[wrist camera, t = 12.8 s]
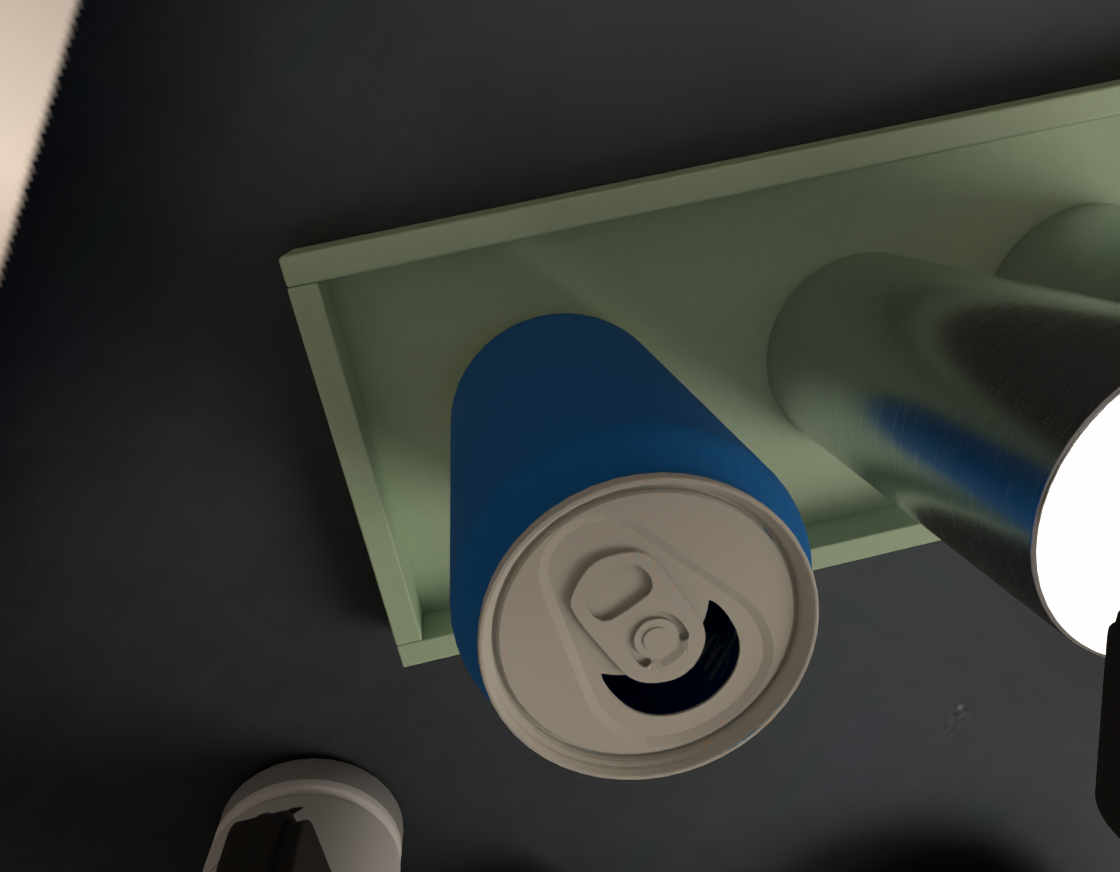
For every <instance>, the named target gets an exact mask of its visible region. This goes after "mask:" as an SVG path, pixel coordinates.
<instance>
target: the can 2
mask: <svg viewBox="0 0 1120 872" xmlns="http://www.w3.org/2000/svg"><path fill="white" fill-rule="evenodd" d="M995 276H998V277H1003V278H1008V279H1012V280H1017V281H1021V282H1026V283H1031V284H1035V285H1040V286H1045V287H1049V288H1054V289H1059V290H1063V291H1068V292H1073V293H1077V294H1082V295H1086V296H1091V297H1096V298H1100V299H1105V300H1110V301H1114V302H1119V303H1120V205H1106V204H1089V205H1082V206H1077V207H1073V208H1070V209H1066V210H1064V211H1062V212H1059V213H1057V214H1055V215H1053V216H1051V217H1049V218H1047V219H1046V220H1044V221H1042V222H1041V223H1039V224H1038V225H1037V226H1035V227H1034V228H1033V229H1031V230H1030V231H1029V232H1028V233H1027V234H1026V235H1025V236H1023V237H1022V238H1021V239H1020V240H1019V241H1018V243H1017V244H1016V245H1015V246H1014V247H1013V248H1012V249H1011V251H1010V252H1009V253H1008V255H1007V256H1006V258H1005V259H1004V261H1003V262H1002V264H1001V266H1000V267H999V269H998V271H997V273H996V275H995Z"/></svg>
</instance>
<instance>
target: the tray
mask: <svg viewBox="0 0 1120 872" xmlns="http://www.w3.org/2000/svg"><path fill="white" fill-rule="evenodd" d="M1089 204H1106V205H1120V79H1118V80H1113V81H1109V82H1104V83H1099V84H1094V85H1089V86H1084V87H1079V88H1075V89H1070V90H1065V91H1060V92H1055V93H1050V94H1045V95H1040V96H1036V97H1031V98H1026V99H1021V100H1016V101H1011V102H1006V103H1002V104H997V105H992V106H987V107H982V108H977V109H972V110H968V111H963V112H958V113H953V114H948V115H943V116H938V117H934V118H929V119H924V120H919V121H914V122H909V123H904V124H900V125H895V126H890V127H885V128H880V129H875V130H870V131H865V132H861V133H856V134H851V135H846V136H841V137H836V138H831V139H827V140H822V141H817V142H812V143H807V144H802V145H797V146H793V147H788V148H783V149H778V150H773V151H768V152H763V153H759V154H754V155H749V156H744V157H739V158H734V159H729V160H724V161H720V162H715V163H710V164H705V165H700V166H695V167H690V168H686V169H681V170H676V171H671V172H666V173H661V174H656V175H652V176H647V177H642V178H637V179H632V180H627V181H622V182H618V183H613V184H608V185H603V186H598V187H593V188H588V189H584V190H579V191H574V192H569V193H564V194H559V195H554V196H549V197H545V198H540V199H535V200H530V201H525V202H520V203H515V204H511V205H506V206H501V207H496V208H491V209H486V210H481V211H477V212H472V213H467V214H462V215H457V216H452V217H447V218H443V219H438V220H433V221H428V222H423V223H418V224H413V225H408V226H404V227H399V228H394V229H389V230H384V231H379V232H374V233H370V234H365V235H360V236H355V237H350V238H345V239H340V240H336V241H331V242H326V243H321V244H316V245H311V246H306V247H302V248H297V249H293V250H291V251H290V252H288V253H287V254H285V255H283V256H282V257H280V258H279V263H280V267H281V270H282V273H283V276H284V280H285V283H286V285H287V286H288V287H290V288H289V289H288V294H289V297H290V300H291V304H292V307H293V310H294V313H295V317H296V320H297V323H298V326H299V330H300V333H301V336H302V339H303V343H304V346H305V349H306V352H307V356H308V359H309V362H310V365H311V369H312V372H313V375H314V378H315V382H316V385H317V388H318V392H319V395H320V398H321V401H322V405H323V408H324V411H325V414H326V418H327V421H328V424H329V427H330V431H331V434H332V437H333V440H334V444H335V447H336V450H337V453H338V457H339V460H340V463H341V466H342V470H343V473H344V476H345V479H346V483H347V486H348V489H349V492H350V496H351V499H352V502H353V506H354V509H355V512H356V515H357V519H358V522H359V525H360V528H361V532H362V535H363V538H364V541H365V545H366V548H367V551H368V554H369V558H370V561H371V564H372V567H373V571H374V574H375V577H376V580H377V584H378V587H379V590H380V593H381V597H382V600H383V603H384V606H385V610H386V613H387V616H388V620H389V623H390V626H391V629H392V633H393V636H394V639H395V642H396V645H397V649H398V652H399V655H400V659H401V662H402V665H403V667H407V666H411V665H415V664H420V663H424V662H428V661H432V660H437V659H441V658H445V657H449V656H453V655H458V654H460V652H459V650H458V648H457V645H456V641H455V637H454V633H453V629H452V625H451V613H450V424H451V410H452V405H453V400H454V395H455V392H456V390H457V387H458V384H459V381H460V379H461V378H462V376H463V374H464V372H465V370H466V368H467V367H468V365H469V364H470V362H471V361H472V359H473V358H474V357H475V356H476V355H477V353H478V352H479V351H480V350H481V349H482V348H483V347H484V346H485V345H486V344H487V343H488V342H490V341H491V340H492V339H493V338H494V337H495V336H497V335H498V334H500V333H502V332H503V331H505V330H506V329H508V328H510V327H512V326H514V325H516V324H518V323H520V322H522V321H525V320H528V319H531V318H534V317H538V316H544V315H549V314H560V313H571V314H583V315H587V316H592V317H597V318H599V319H602V320H605V321H608V322H610V323H612V324H614V325H616V326H618V327H620V328H622V329H624V330H625V331H626V332H628V333H629V334H631V335H632V336H633V337H635V338H636V339H637V340H638V341H639V342H640V343H641V344H642V345H643V346H644V347H645V348H646V349H647V350H648V351H649V352H650V353H651V354H652V355H654V356H655V357H656V358H657V359H658V360H659V361H660V362H661V363H662V364H663V365H664V366H665V367H666V368H667V369H668V370H669V371H670V372H671V373H672V374H673V375H674V376H675V377H676V378H677V379H678V380H679V381H680V382H681V383H682V384H683V385H684V386H685V387H686V388H687V389H688V390H689V391H690V392H691V393H692V394H693V395H694V396H695V397H696V398H697V399H698V400H700V401H701V402H702V403H703V404H704V405H705V406H706V407H707V408H708V409H709V410H710V411H711V412H712V413H713V414H714V415H715V416H716V417H717V418H718V419H719V420H720V421H721V422H722V423H723V424H724V425H725V426H726V427H727V428H728V429H729V430H730V431H731V432H732V433H733V434H734V435H735V436H736V437H737V438H738V439H739V440H740V441H741V442H742V443H743V444H745V445H746V446H747V447H748V448H749V449H750V450H751V451H752V452H753V453H754V454H755V455H756V456H757V457H758V458H759V459H760V460H761V461H762V462H763V463H764V464H765V465H766V466H767V467H768V468H769V469H770V470H771V471H772V472H773V473H774V474H775V475H776V476H777V478H778V479H779V480H780V481H781V483H782V484H783V485H784V487H785V488H786V489H787V490H788V492H789V494H790V496H791V497H792V499H793V501H794V503H795V504H796V506H797V508H798V510H799V513H800V515H801V518H802V521H803V523H804V526H805V529H806V532H807V536H808V540H809V545H810V550H811V559H812V570H816V569H821V568H825V567H829V566H833V565H837V564H842V563H846V562H850V561H854V560H859V559H863V558H867V557H871V556H875V555H880V554H884V553H888V552H892V551H897V550H901V549H905V548H909V547H913V546H918V545H922V544H926V543H930V542H935V541H939V540H941V539H939V538H938V537H937V536H936V535H934V534H933V533H932V532H930V531H929V530H928V529H927V528H925V527H924V526H923V525H921V524H920V523H919V522H918V521H916V520H915V519H914V518H912V517H911V516H910V515H909V514H907V513H906V512H905V511H903V510H902V509H901V508H900V507H898V506H897V505H896V504H894V503H893V502H892V501H891V500H889V499H888V498H887V497H885V496H884V495H883V494H882V493H880V492H879V491H878V490H876V489H875V488H874V487H873V486H871V485H870V484H869V483H867V482H866V481H865V480H864V479H862V478H861V477H860V476H858V475H857V474H856V473H855V472H853V471H852V470H851V469H849V468H848V467H847V466H846V465H844V464H843V463H842V462H841V461H839V460H838V459H837V458H835V457H834V456H833V455H832V454H830V453H829V452H828V451H826V450H825V449H824V448H823V447H821V446H820V445H819V444H817V443H816V442H815V441H814V440H812V439H811V438H810V437H808V436H807V435H806V434H805V433H803V432H802V431H801V430H799V429H798V428H797V427H796V426H794V425H793V424H792V423H791V422H790V421H789V420H788V419H787V418H786V417H785V416H784V414H783V413H782V411H781V410H780V408H779V407H778V405H777V403H776V401H775V399H774V397H773V394H772V391H771V388H770V385H769V379H768V374H767V353H768V345H769V341H770V336H771V333H772V330H773V327H774V324H775V321H776V319H777V317H778V315H779V313H780V311H781V309H782V308H783V306H784V305H785V303H786V302H787V300H788V299H789V297H790V296H791V295H792V294H793V293H794V291H795V290H796V289H797V288H798V287H799V286H800V285H801V284H802V283H803V282H804V281H805V280H806V279H807V278H808V277H810V276H811V275H812V274H814V273H815V272H816V271H818V270H819V269H821V268H822V267H824V266H826V265H828V264H829V263H831V262H834V261H836V260H838V259H841V258H843V257H847V256H850V255H854V254H859V253H866V252H884V253H891V254H896V255H901V256H905V257H910V258H915V259H919V260H924V261H929V262H933V263H938V264H943V265H947V266H952V267H957V268H961V269H966V270H970V271H975V272H980V273H984V274H989V275H994V276H995V275H996V273H997V271H998V269H999V267H1000V266H1001V264H1002V262H1003V261H1004V259H1005V258H1006V256H1007V255H1008V253H1009V252H1010V251H1011V249H1012V248H1013V247H1014V246H1015V245H1016V244H1017V243H1018V241H1019V240H1020V239H1021V238H1022V237H1023V236H1025V235H1026V234H1027V233H1028V232H1029V231H1030V230H1031V229H1033V228H1034V227H1035V226H1037V225H1038V224H1039V223H1041V222H1042V221H1044V220H1046V219H1047V218H1049V217H1051V216H1053V215H1055V214H1057V213H1059V212H1062V211H1064V210H1066V209H1070V208H1073V207H1077V206H1082V205H1089Z"/></svg>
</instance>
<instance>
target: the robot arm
mask: <svg viewBox="0 0 1120 872" xmlns="http://www.w3.org/2000/svg"><path fill="white" fill-rule="evenodd" d="M1095 797H1096V802H1097V806H1098V809H1099V811H1100V813H1101V815H1102V817H1103V818H1104V820H1105V822H1106V823H1107V825H1108V826H1109V827H1110V828H1111V829H1112V831H1113V832H1114V833H1115V834H1116V835H1117V836H1118V837H1119V838H1120V610H1119V611H1118V613H1117V617H1116V621H1115V622H1113V623H1112V624H1111V625H1110V626H1109V628H1108V632H1107V641H1106V655H1105V668H1104V681H1103V695H1102V708H1101V722H1100V735H1099V748H1098V762H1097V775H1096V789H1095ZM216 872H331V869H330V867H329V864H328V862H327V859H326V857H325V854H324V852H323V849H322V847H321V844H320V842H319V839H318V837H317V834H316V832H315V829H314V827H313V825H312V823H311V822H310V821H309V820H308V819H307V820H302V821H298V822H297V821H296V819H295V817H294V816H293V814H292V813H291V812H290V811H289V810H283V811H279V812H275V813H271V814H267V815H263V816H259V817H255V818H251V819H246V820H242V821H238V822H235V823H234V824H233V825H232V826H231V828H230V830H229V832H228V835H227V838H226V841H225V844H224V847H223V850H222V853H221V856H220V859H219V863H218V866H217V869H216Z"/></svg>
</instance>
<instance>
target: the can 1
mask: <svg viewBox="0 0 1120 872" xmlns="http://www.w3.org/2000/svg"><path fill="white" fill-rule="evenodd" d="M767 374H768V379H769V385H770V388H771V391H772V394H773V397H774V399H775V401H776V403H777V405H778V407H779V408H780V410H781V411H782V413H783V414H784V416H785V417H786V418H787V419H788V420H789V421H790V422H791V423H792V424H793V425H794V426H796V427H797V428H798V429H799V430H801V431H802V432H803V433H805V434H806V435H807V436H808V437H810V438H811V439H812V440H814V441H815V442H816V443H817V444H819V445H820V446H821V447H823V448H824V449H825V450H826V451H828V452H829V453H830V454H832V455H833V456H834V457H835V458H837V459H838V460H839V461H841V462H842V463H843V464H844V465H846V466H847V467H848V468H849V469H851V470H852V471H853V472H855V473H856V474H857V475H858V476H860V477H861V478H862V479H864V480H865V481H866V482H867V483H869V484H870V485H871V486H873V487H874V488H875V489H876V490H878V491H879V492H880V493H882V494H883V495H884V496H885V497H887V498H888V499H889V500H891V501H892V502H893V503H894V504H896V505H897V506H898V507H900V508H901V509H902V510H903V511H905V512H906V513H907V514H909V515H910V516H911V517H912V518H914V519H915V520H916V521H918V522H919V523H920V524H921V525H923V526H924V527H925V528H927V529H928V530H929V531H930V532H932V533H933V534H934V535H936V536H937V537H938V538H939V539H941V540H942V541H943V542H944V543H946V544H947V545H948V546H950V547H951V548H952V549H953V550H955V551H956V552H957V553H959V554H960V555H961V556H962V557H964V558H965V559H966V560H968V561H969V562H970V563H971V564H973V565H974V566H975V567H977V568H978V569H979V570H980V571H982V572H983V573H984V574H986V575H987V576H988V577H989V578H991V579H992V580H993V581H995V582H996V583H997V584H998V585H1000V586H1001V587H1002V588H1004V589H1005V590H1006V591H1007V592H1009V593H1010V594H1011V595H1013V596H1014V597H1015V598H1016V599H1018V600H1019V601H1020V602H1022V603H1023V604H1024V605H1025V606H1027V607H1028V608H1029V609H1031V610H1032V611H1033V612H1034V613H1036V614H1037V615H1038V616H1039V617H1041V618H1042V619H1043V620H1045V621H1046V622H1047V623H1048V624H1050V625H1051V626H1052V627H1054V628H1055V629H1056V630H1057V631H1059V632H1060V633H1061V634H1063V635H1064V636H1065V637H1066V638H1068V639H1069V640H1070V641H1072V642H1073V643H1074V644H1076V645H1078V646H1080V647H1081V648H1083V649H1085V650H1087V651H1089V652H1091V653H1094V654H1097V655H1099V656H1102V657H1105V655H1106V641H1107V632H1108V628H1109V626H1110V625H1111V624H1112V623H1113V622H1115V621H1116V617H1117V613H1118V611H1119V610H1120V303H1119V302H1114V301H1110V300H1105V299H1100V298H1096V297H1091V296H1086V295H1082V294H1077V293H1073V292H1068V291H1063V290H1059V289H1054V288H1049V287H1045V286H1040V285H1035V284H1031V283H1026V282H1021V281H1017V280H1012V279H1008V278H1003V277H998V276H994V275H989V274H984V273H980V272H975V271H970V270H966V269H961V268H957V267H952V266H947V265H943V264H938V263H933V262H929V261H924V260H919V259H915V258H910V257H905V256H901V255H896V254H891V253H884V252H866V253H859V254H854V255H850V256H847V257H843V258H841V259H838V260H836V261H834V262H831V263H829V264H828V265H826V266H824V267H822V268H821V269H819V270H818V271H816V272H815V273H814V274H812V275H811V276H810V277H808V278H807V279H806V280H805V281H804V282H803V283H802V284H801V285H800V286H799V287H798V288H797V289H796V290H795V291H794V293H793V294H792V295H791V296H790V297H789V299H788V300H787V302H786V303H785V305H784V306H783V308H782V309H781V311H780V313H779V315H778V317H777V319H776V321H775V324H774V327H773V330H772V333H771V336H770V341H769V345H768V353H767Z"/></svg>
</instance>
